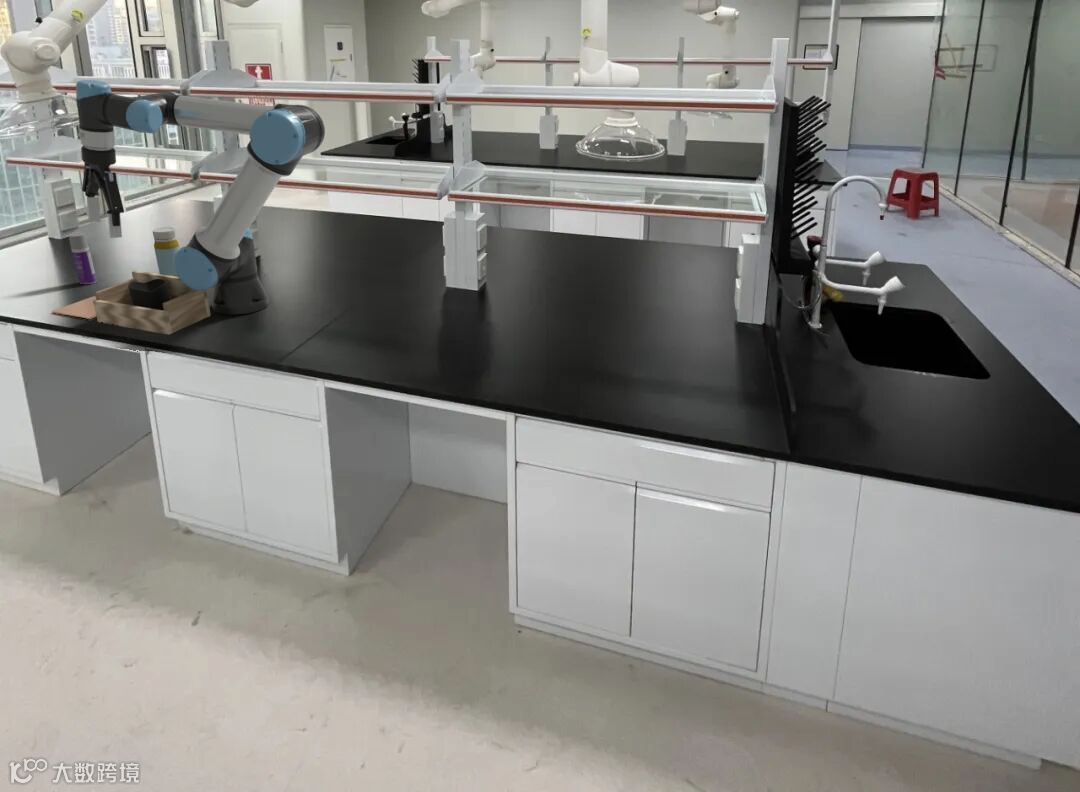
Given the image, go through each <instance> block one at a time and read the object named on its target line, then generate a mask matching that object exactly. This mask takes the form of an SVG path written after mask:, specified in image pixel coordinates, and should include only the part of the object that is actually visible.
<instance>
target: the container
mask: <svg viewBox="0 0 1080 792" xmlns="http://www.w3.org/2000/svg"><path fill="white" fill-rule="evenodd" d="M68 238H69V245H70V248H71V255H72V258H73V262H74V265H75V268H76V273H77V278H78V280H79V284H80V285H81V284H85V285H84V286H87V285H86V284H91V285H94V284H93V283H95V284H96V282H97V283H98V279H97V275H96V272H95V267H94V264H93V259H92V253H91V251H90V247H89V243H88V239H87V236H86V233H85V232H73V233H69V234H68Z"/></svg>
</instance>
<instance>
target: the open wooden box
mask: <svg viewBox="0 0 1080 792" xmlns="http://www.w3.org/2000/svg"><path fill="white" fill-rule="evenodd" d="M131 275H132V278H131V279H128V280H125V281H122V282H119V283H116V284H114V285H112V286H109V287H108V286H107V287H105V288H102V289H101V290H97V291H95V292H94V295H95V296H96V300H94V301H93V304H94V308H95V312H96V316H97V318H96V319H97V320H96V321H97V323H101V322H103V323H102V324H106V323H107V324H108V325H112V324H114V325H113V326H117V325H118V326H119V327H123V328H130V329H136V330H141V331H145V332H152V333H158V334H163V335H171V334H174V333H175V332H178V331H180V330H182V329H184V328H187V327H189V326H191V325H194V324H196V323H198V322H199V321H202V320H204V319H206V318H209V317H211V315H212V314H211V311H210V310H211V309H210V304H209V299H208V294H207V293H208V292H207V289H206V290H195V289H192V288H190V287H188V286H187V285H185V284H184V283H183V282H182V281H181V280H180V279H179V277H175V276H169V275H162V274H160V273H154V272H148V271H141V270H132V271H131ZM154 279H164V280H166V281H167V287H168V293H169V299H170V301H167V302H165V303H163V308H164V311H163V310H157V309H151V308H145V307H139V306H133V303H132V299H131V295H130V292H129V288H128V285H129V284H130V283H132V282H149V281H151V280H154Z"/></svg>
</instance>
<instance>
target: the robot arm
mask: <svg viewBox="0 0 1080 792" xmlns="http://www.w3.org/2000/svg"><path fill="white" fill-rule="evenodd" d="M112 92H113V91H112V88H111V85H110V84H109V83H108V82H104V81H102V80H93V79H81V80H78V81H77V82H76V84H75V93H76V94H75V95H76V97H75V101H76V107H77V115H78V123H79V124H78V125H79V132H78V133H77V135H78V138H80V144H81V145H82V147H81V148H80V149H81V151H80V152H81V161H82V162H83V164H84V165H83V166H84V168H83V169H84V171H83V176H82V177H83V178H82V187H81V189H82V192H83V193H84V194H85V196H86V205H87V206H86V207H87V218H88V223H96V222H97V223H99V222H102V221H101V211H100V210H101V209H100V198H99V197H100V192H99V189H100V190H101V191H102V194H103V198H104V200H105V203H106V206H107V209H108V210H107V211H106V214H107V219H108V220H107V223H108V233H109V239H116V238H117V239H118V238H122V237H123V236H122V235H123V234H122V233H123V232H122V220H121V219H122V218H121V214H122V213H124V212H125V209H124V205H123V201H122V198H121V193H120V188H119V184H118V181H117V179H118V178H117V174H116V172H111V169H110V166H111V165H112V166H114V165H115V164H116V162H117V156H116V149H115V148H114V147H115V146H116V139H115V138H116V137H115V130H114V127H115V128H120V129H125V130H130V131H134V132H138V133H141V134H143V133H146V134H156V133H158V131H159V129H160V128H161V127H162V126H164V125H171V126H178V127H179V126H180V127H188V128H193V129H194V128H195V129H203V130H208V131H210V130H211V131H216V132H225V133H232V134H239V135H244V136H245V135H246V136H248V137H249V139H250V140H249V142H248V143H247V146H246V151H247V155H248V157H247V159H246V160H245V162H244V163H243V165H242V167H241V169H240V170H239V172H238V174H237V175H236V177H235V178H234V180H233V181H232V184H231V185H230V187H229V188H228V190H227V192H226V193H225V195H224V197H223V198H222V200H221V201H220V203H219V204H218V206H217V208H216V210H215V212H214V214H213V215H212V217H210V220H209V221H208V223H207V225H205V226H204V225H203V226H200V227H198V228H197V229H196V231H195V232H194V234H193V235H192V237H191V239H190V241H189V242H188V243H187V245H186V246H183V247H181V248H180V250H179V251H178V252H177V253H176V254H175V256H174V259H173V265H174V269H175V270H176V274H177V276H178V277H179V279H180V280H181V281H182V282H183V283H184V284H185V285H187V286H188V287H190V288H192V289H195V290H206V291H207V290H208V289H211V288H213V290H212V296H211V307H212V310H213V311H214V312H215V313H217V314H222V315H231V316H232V315H233V316H234V315H235V316H236V315H245V314H250V313H255V312H259V311H261V310H263V309H265V308H267V307H268V306H269V295H268V293H267V292H266V289H265V288H264V286H263V284H262V281H261V280H260V278H259V274H258V267H257V265H258V264H257V260H256V251H255V245H254V238H253V235H252V234H253V233H252V230H251V228H250V227H251V225H252V224H253V222H254V221H255V219H256V217H257V216H258V214H259V213H260V211H261V209H262V208H263V206H264V204H265V203H266V202H267V200H268V198H269V197H270V196H271V194H272V192H273V191H274V189H275V188H276V186H277V184H278V183H279V182H280V180H281V178H284V177H289V176H292V173H293V172H294V170H295V168H297V166H298V164H299V162H300V161H301V159H302V158H303V157H304V156H306V155H309V154H311V153H313V152H315V151H316V150H318V149H319V147H321V145H322V144H323V142H324V139H325V133H326V131H325V130H326V127H325V124H324V121H323V119H322V117H321V115H320V114H319V113H318V112H317V111H315V110H314V109H313V108H311V107H310V106H307V105H303V104H288V103H287V104H285V103H275V104H274V105H273V106H269V105H267V106H266V105H261V104H259V105H258V104H251V103H244V102H236V101H235V102H234V101H227V100H220V99H212V98H206V97H205V98H203V97H197V96H188V95H181V94H179V93H177V92H174V91H161V92H157V93H152V94H144V95H139V96H123V95H120V94H115V93H112Z"/></svg>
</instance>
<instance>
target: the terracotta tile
mask: <svg viewBox="0 0 1080 792" xmlns="http://www.w3.org/2000/svg"><path fill="white" fill-rule="evenodd" d="M94 300H96V296H94V295H93V296H91V297H88V298H85V299H81V300H80V301H77V302H74V303H71V304H68V305H66V306H63V307H59V308H57V309H55V310H52V311H51V314H53V313H56V314H55V315H58V314H63V315H62V316H64V315H70V316H76V317H82V318H86V319H92V318H95V317H97V316H96V312H95V308H94V304H93V301H94ZM70 316H69V317H70ZM86 319H85V320H86ZM95 319H96V318H95ZM92 320H93V319H92Z"/></svg>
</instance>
